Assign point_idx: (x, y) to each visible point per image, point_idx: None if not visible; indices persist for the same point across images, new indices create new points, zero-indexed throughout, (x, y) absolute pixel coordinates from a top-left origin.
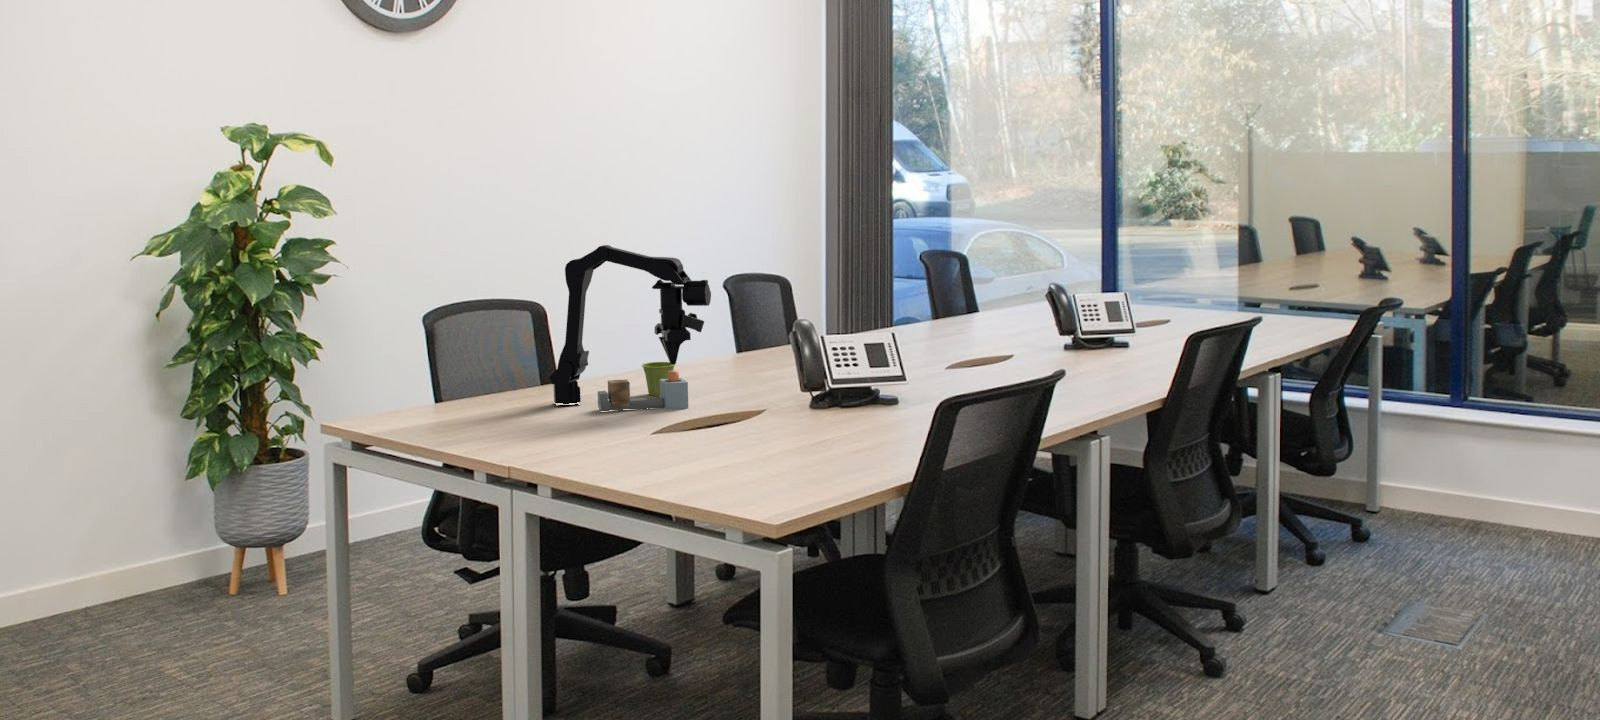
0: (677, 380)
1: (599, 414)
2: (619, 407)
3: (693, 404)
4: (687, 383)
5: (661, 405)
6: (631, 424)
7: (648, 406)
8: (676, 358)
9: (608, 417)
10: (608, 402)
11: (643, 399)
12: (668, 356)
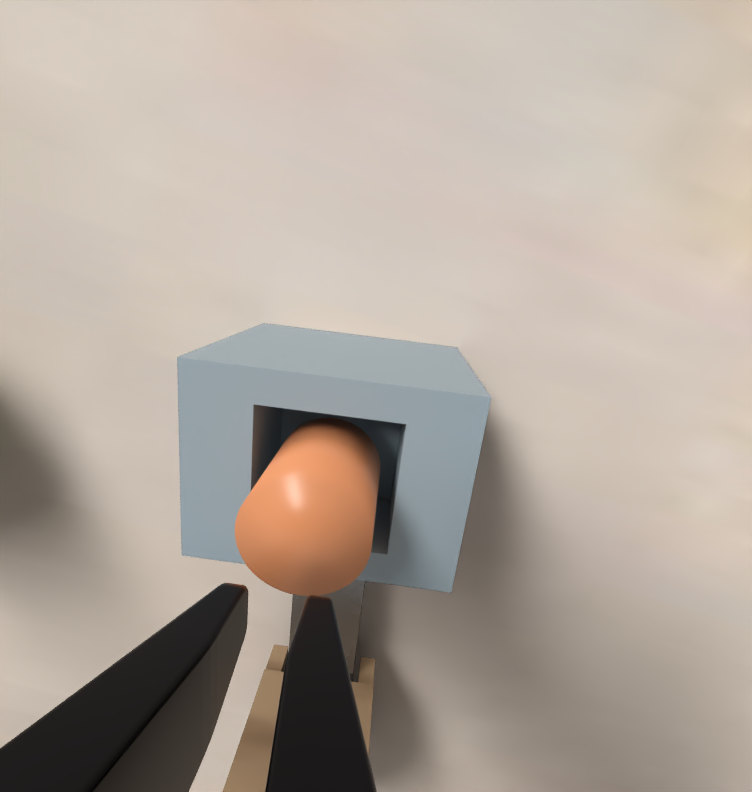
0: (372, 464)
1: (392, 755)
2: None
3: (330, 266)
4: (486, 395)
5: None
6: (729, 729)
7: None
8: (350, 679)
9: (488, 749)
10: None
11: (336, 605)
12: (189, 784)
